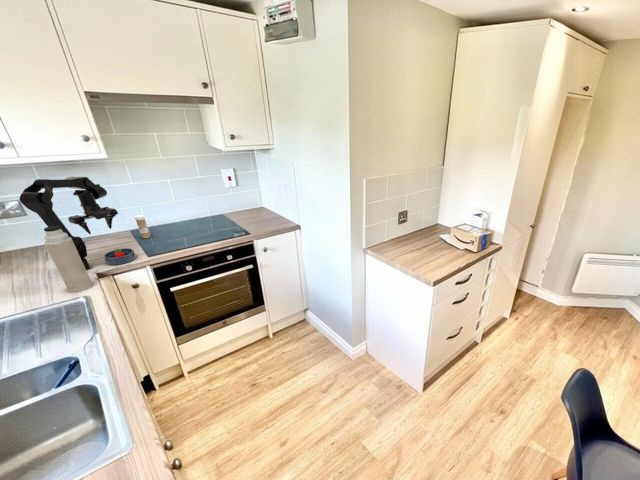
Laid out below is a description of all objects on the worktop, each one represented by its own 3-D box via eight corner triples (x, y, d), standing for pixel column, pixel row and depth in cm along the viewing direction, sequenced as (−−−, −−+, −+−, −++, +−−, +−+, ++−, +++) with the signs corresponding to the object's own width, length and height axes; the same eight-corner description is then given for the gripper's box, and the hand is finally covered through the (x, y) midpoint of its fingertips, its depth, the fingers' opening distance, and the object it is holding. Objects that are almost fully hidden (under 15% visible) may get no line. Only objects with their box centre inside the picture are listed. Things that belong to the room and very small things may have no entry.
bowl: (115, 267, 158) (112, 260, 157) (100, 262, 162) (97, 255, 161) (141, 257, 169) (139, 251, 167) (127, 253, 173) (124, 246, 171)
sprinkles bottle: (140, 239, 190) (132, 217, 184) (143, 236, 194) (136, 214, 188) (149, 238, 192) (142, 216, 185) (152, 235, 195) (145, 214, 189)
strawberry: (119, 261, 163) (115, 251, 160) (114, 260, 164) (109, 249, 162) (128, 258, 166) (124, 248, 164) (123, 256, 168) (119, 246, 165)
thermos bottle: (63, 290, 138) (31, 230, 126) (81, 281, 145) (53, 223, 133) (79, 292, 138) (49, 231, 125) (97, 283, 145) (70, 224, 132)
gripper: (75, 209, 150) (88, 240, 157) (119, 200, 166) (129, 228, 173) (61, 205, 154) (75, 236, 161) (105, 197, 169) (116, 225, 177)
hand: (100, 231), depth 168 cm, fingers open, 9 cm apart
